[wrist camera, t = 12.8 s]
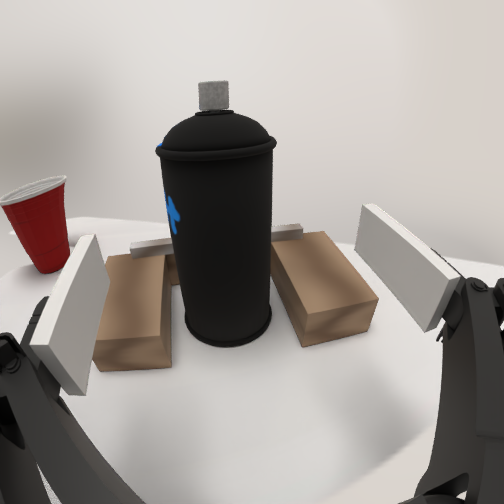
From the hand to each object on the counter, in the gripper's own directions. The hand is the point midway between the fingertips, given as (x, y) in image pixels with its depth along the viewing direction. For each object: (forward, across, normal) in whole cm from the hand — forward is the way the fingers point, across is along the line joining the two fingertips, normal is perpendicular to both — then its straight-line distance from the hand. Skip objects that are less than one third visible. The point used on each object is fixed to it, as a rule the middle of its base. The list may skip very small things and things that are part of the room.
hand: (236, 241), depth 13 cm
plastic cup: (+22, -24, -13) cm, 35 cm away
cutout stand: (+9, 0, -12) cm, 15 cm away
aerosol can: (+8, 0, -13) cm, 15 cm away
